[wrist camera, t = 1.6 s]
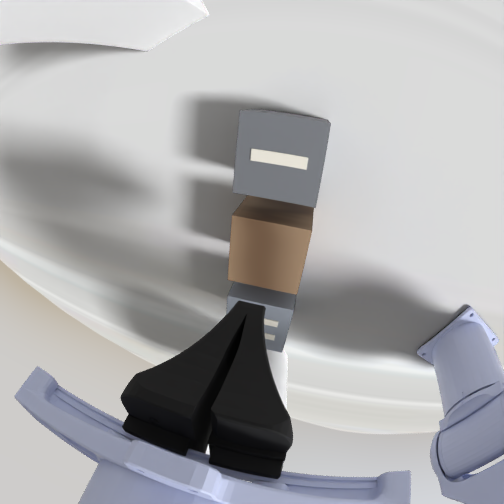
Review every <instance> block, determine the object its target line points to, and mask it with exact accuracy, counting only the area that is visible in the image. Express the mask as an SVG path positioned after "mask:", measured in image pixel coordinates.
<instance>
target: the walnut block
mask: <svg viewBox="0 0 504 504" xmlns="http://www.w3.org/2000/svg"><path fill="white" fill-rule="evenodd" d="M313 211H314V207H309V206H304V205H299V204H294V203H289V202H283V201H278V200H273V199H267V198H262V197H256V196H250V195H247V197H246V198H245V199H244V200H243V202H242V203H241V204H240V206H239V207H238V208H237V210H236V211H235V212H234V213H233V215H232V223H231V237H230V251H229V266H228V280H231V281H235V282H240V283H244V284H249V285H253V286H258V287H262V288H267V289H272V290H276V291H281V292H286V293H291V294H295V295H297V292H298V288H299V284H300V280H301V276H302V272H303V268H304V264H305V259H306V255H307V251H308V246H309V242H310V237H311V233H312V224H313Z"/></svg>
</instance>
